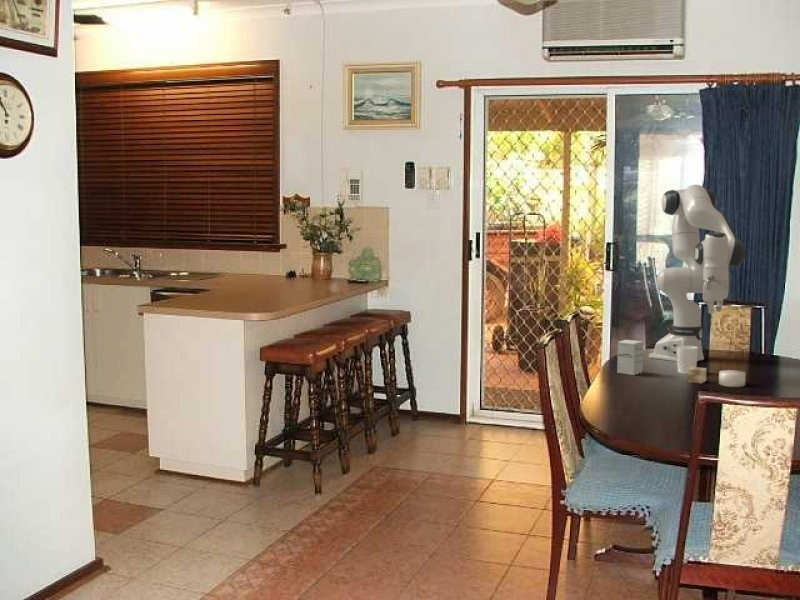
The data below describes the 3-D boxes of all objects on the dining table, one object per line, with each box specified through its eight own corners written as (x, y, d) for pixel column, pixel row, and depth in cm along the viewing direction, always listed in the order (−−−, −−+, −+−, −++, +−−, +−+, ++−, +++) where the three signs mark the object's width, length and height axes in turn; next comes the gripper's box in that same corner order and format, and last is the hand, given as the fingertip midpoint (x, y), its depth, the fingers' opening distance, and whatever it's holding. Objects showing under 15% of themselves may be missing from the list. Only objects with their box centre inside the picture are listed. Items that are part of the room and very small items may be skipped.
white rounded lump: (715, 385, 320) (715, 373, 320) (723, 381, 327) (723, 369, 327) (741, 388, 315) (741, 375, 314) (748, 383, 322) (748, 371, 321)
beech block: (688, 382, 326) (688, 368, 326) (692, 379, 330) (693, 366, 329) (701, 383, 323) (702, 370, 323) (706, 381, 327) (706, 368, 327)
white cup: (698, 371, 346) (699, 346, 345) (696, 374, 339) (696, 349, 338) (677, 369, 349) (678, 345, 348) (674, 373, 342) (675, 348, 341)
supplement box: (616, 373, 344) (617, 341, 343) (626, 370, 349) (626, 339, 348) (633, 375, 339) (634, 343, 338) (643, 372, 344) (643, 341, 343)
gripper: (716, 277, 318) (715, 315, 319) (731, 274, 334) (731, 310, 335) (698, 276, 322) (698, 314, 323) (715, 274, 338) (714, 310, 339)
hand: (715, 312), depth 329 cm, fingers open, 8 cm apart
